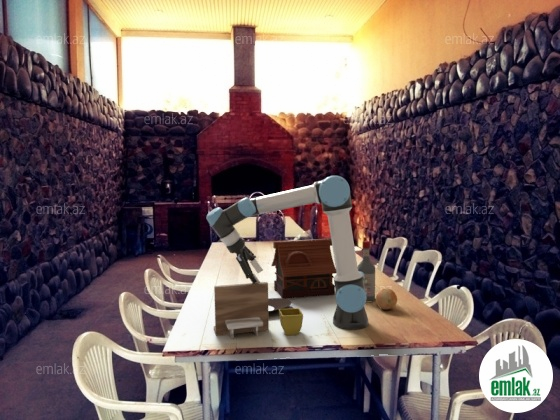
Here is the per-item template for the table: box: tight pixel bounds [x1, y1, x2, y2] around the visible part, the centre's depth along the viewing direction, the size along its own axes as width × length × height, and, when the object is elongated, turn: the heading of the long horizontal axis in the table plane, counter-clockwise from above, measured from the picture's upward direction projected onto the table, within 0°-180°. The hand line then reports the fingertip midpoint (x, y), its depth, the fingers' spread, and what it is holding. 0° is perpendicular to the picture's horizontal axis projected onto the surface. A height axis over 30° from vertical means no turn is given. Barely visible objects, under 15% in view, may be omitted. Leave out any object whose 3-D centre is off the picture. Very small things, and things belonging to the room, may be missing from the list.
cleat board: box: [213, 281, 270, 339], centre depth 184 cm, size 15×22×20 cm
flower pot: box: [278, 307, 304, 336], centre depth 183 cm, size 9×9×9 cm
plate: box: [268, 297, 292, 313], centre depth 216 cm, size 28×28×4 cm
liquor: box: [357, 240, 376, 302], centre depth 230 cm, size 9×9×30 cm
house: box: [271, 238, 337, 299], centre depth 245 cm, size 35×28×29 cm
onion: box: [375, 288, 398, 311], centre depth 213 cm, size 10×10×10 cm
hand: (260, 279), depth 194 cm, fingers open, 13 cm apart
